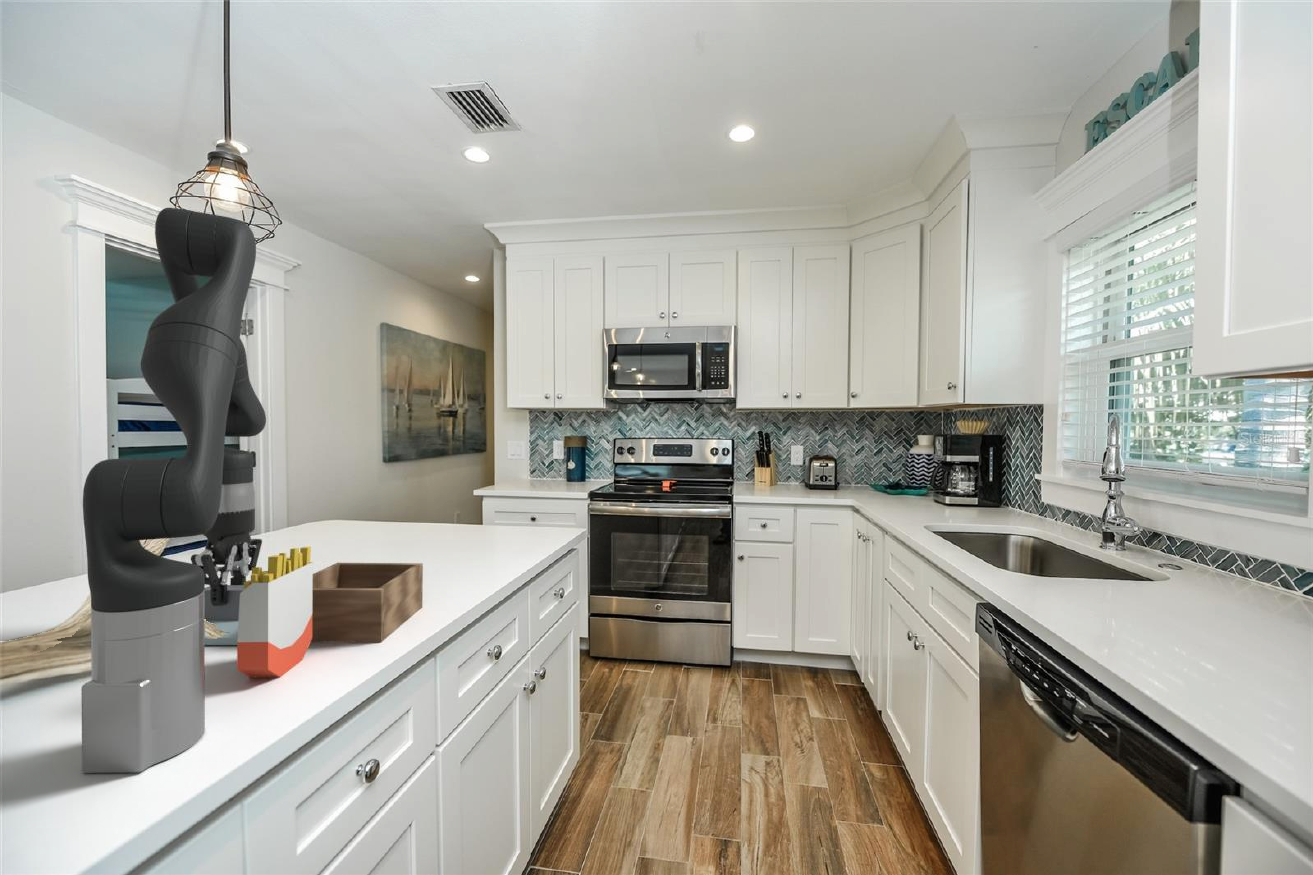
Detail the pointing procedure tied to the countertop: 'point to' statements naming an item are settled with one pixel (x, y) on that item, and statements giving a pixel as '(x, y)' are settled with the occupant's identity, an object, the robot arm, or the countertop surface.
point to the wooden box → (364, 600)
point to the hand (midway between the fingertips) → (229, 600)
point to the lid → (224, 615)
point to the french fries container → (276, 615)
